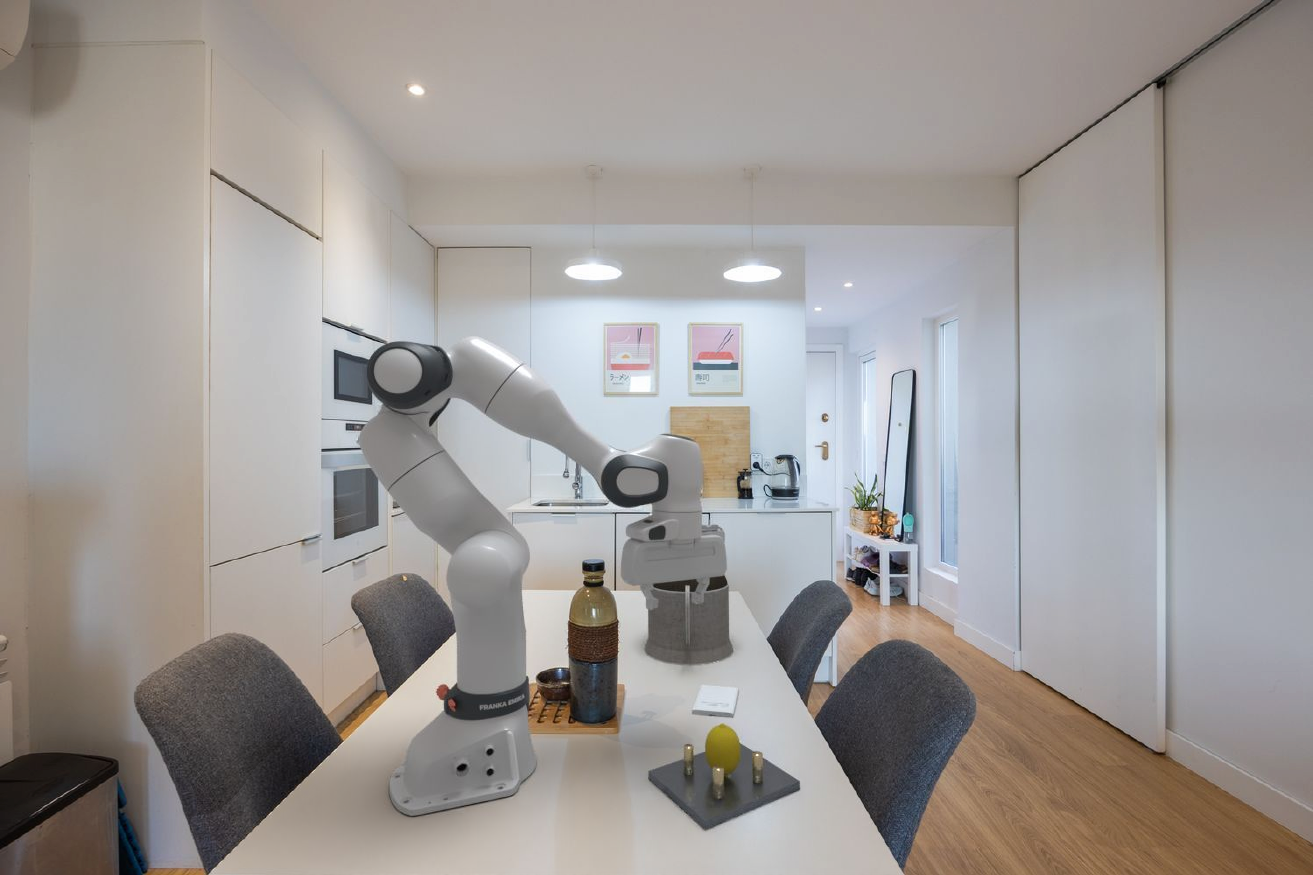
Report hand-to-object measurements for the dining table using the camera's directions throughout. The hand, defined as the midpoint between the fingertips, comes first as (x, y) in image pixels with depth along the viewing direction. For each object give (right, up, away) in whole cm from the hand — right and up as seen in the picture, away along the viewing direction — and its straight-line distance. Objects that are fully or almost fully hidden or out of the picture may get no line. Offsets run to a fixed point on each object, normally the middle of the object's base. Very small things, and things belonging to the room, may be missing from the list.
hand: (675, 605), depth 103 cm
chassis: (+7, -24, -12) cm, 28 cm away
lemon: (+7, -23, -12) cm, 27 cm away
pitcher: (+5, -26, +47) cm, 54 cm away
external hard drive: (+9, -26, +18) cm, 33 cm away
